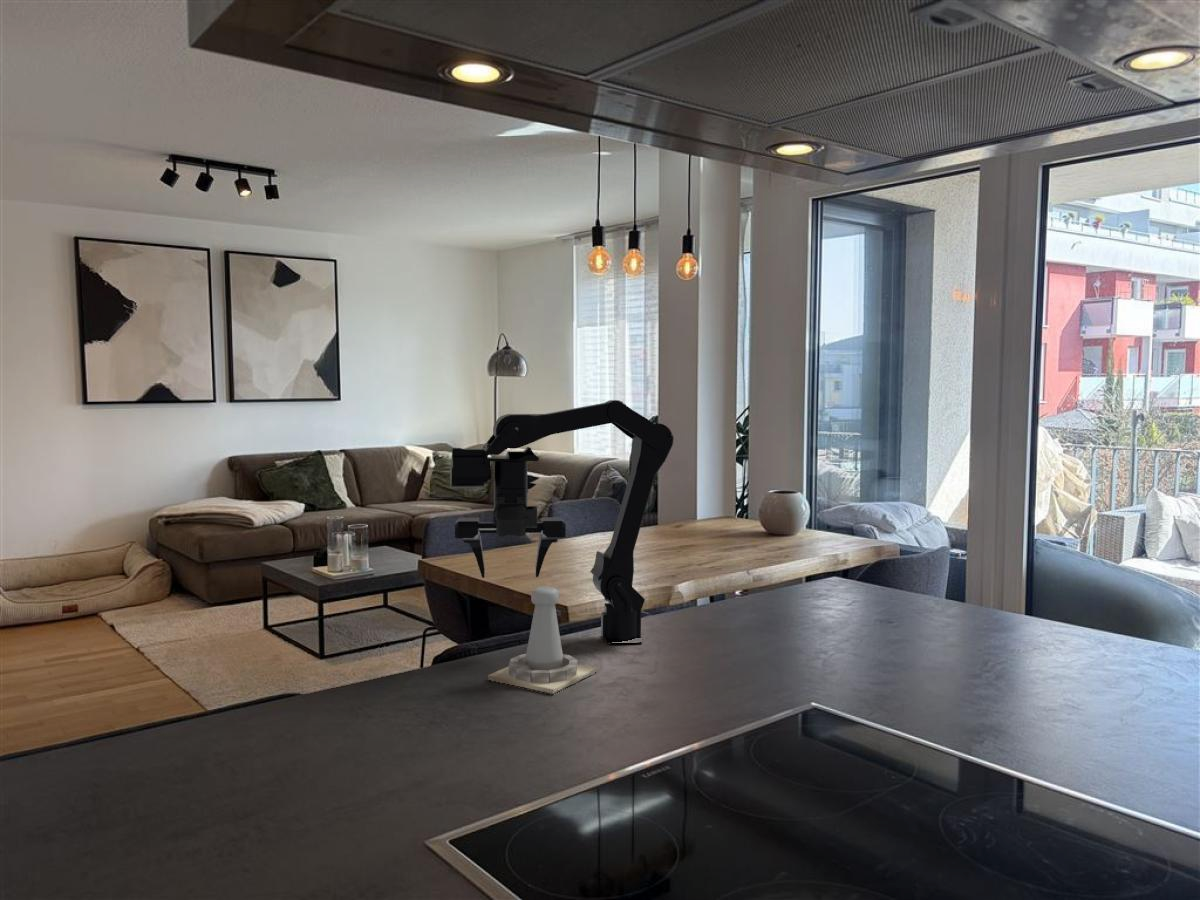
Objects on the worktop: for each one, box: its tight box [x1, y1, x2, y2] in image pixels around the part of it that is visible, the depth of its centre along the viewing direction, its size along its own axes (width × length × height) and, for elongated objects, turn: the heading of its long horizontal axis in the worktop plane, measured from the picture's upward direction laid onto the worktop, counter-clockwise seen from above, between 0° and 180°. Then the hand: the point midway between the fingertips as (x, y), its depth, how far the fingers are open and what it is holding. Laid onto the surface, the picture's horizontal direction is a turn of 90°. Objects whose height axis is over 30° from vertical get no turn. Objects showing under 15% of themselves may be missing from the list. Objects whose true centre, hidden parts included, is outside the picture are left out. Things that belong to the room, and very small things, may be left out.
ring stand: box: [487, 653, 598, 693], centre depth 135 cm, size 12×12×2 cm
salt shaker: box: [525, 586, 564, 670], centre depth 135 cm, size 6×6×13 cm
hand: (510, 577), depth 151 cm, fingers open, 9 cm apart
